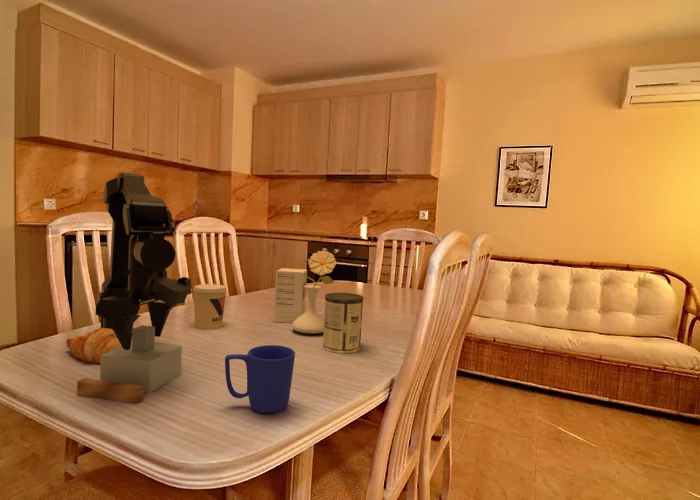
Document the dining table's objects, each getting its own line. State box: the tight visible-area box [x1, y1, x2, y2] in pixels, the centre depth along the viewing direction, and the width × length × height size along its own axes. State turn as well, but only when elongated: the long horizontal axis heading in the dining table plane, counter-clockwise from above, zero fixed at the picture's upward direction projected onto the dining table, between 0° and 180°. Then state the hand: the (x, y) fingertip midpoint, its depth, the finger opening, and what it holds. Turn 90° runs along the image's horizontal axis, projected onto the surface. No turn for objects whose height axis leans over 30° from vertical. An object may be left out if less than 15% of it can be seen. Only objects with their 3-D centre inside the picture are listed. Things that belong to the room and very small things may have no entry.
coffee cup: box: [192, 283, 227, 330], centre depth 123 cm, size 9×9×12 cm
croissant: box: [66, 327, 132, 364], centre depth 92 cm, size 21×10×8 cm, turn 76°
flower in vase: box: [291, 250, 337, 335], centre depth 122 cm, size 13×11×25 cm
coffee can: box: [322, 292, 364, 354], centre depth 109 cm, size 10×10×14 cm
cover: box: [99, 324, 183, 394], centre depth 80 cm, size 10×10×10 cm
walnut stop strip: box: [76, 377, 145, 404], centre depth 72 cm, size 12×2×2 cm, turn 81°
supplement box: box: [273, 267, 308, 324], centre depth 136 cm, size 10×9×17 cm
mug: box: [224, 344, 296, 414], centre depth 72 cm, size 8×12×10 cm
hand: (142, 342), depth 80 cm, fingers open, 9 cm apart
